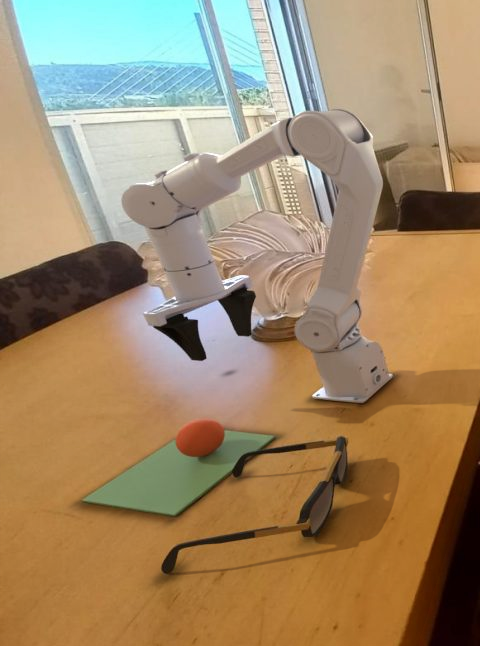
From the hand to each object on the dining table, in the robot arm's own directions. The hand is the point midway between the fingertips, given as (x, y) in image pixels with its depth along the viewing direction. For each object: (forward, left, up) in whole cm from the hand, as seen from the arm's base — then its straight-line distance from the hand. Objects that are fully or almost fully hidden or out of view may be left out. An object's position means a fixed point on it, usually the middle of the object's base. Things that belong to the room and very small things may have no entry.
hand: (223, 346), depth 74 cm
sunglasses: (-25, +19, -10) cm, 33 cm away
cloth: (-7, +15, -9) cm, 19 cm away
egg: (-7, +12, -7) cm, 16 cm away
